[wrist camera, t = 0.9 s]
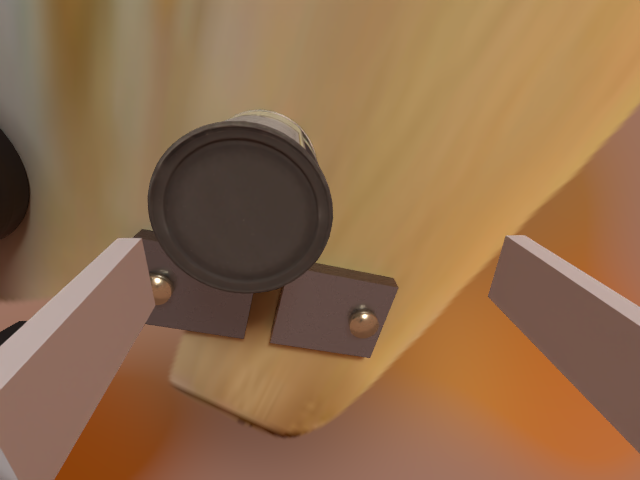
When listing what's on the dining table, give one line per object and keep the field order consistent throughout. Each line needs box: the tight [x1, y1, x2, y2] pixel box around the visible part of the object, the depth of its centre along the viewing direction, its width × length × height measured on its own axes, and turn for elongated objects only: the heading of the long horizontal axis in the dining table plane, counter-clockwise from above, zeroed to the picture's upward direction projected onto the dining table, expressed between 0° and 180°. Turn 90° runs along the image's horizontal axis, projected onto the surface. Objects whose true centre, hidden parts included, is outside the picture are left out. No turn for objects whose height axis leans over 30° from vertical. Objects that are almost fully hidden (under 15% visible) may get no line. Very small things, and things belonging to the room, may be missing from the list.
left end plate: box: [133, 229, 253, 339], centre depth 35 cm, size 12×10×3 cm
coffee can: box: [148, 110, 333, 294], centre depth 25 cm, size 10×10×14 cm
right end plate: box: [270, 263, 398, 358], centre depth 37 cm, size 12×10×3 cm
